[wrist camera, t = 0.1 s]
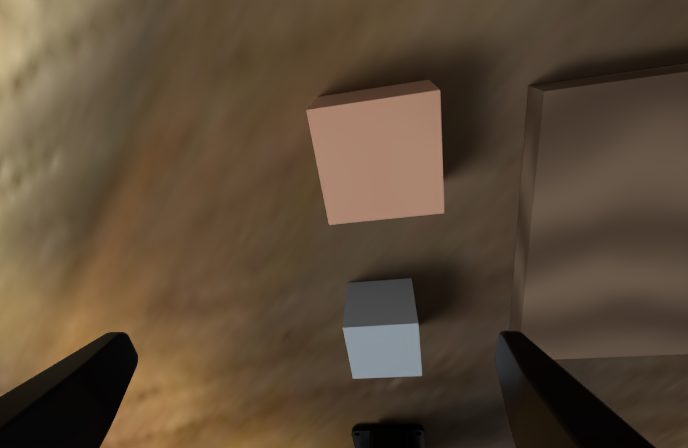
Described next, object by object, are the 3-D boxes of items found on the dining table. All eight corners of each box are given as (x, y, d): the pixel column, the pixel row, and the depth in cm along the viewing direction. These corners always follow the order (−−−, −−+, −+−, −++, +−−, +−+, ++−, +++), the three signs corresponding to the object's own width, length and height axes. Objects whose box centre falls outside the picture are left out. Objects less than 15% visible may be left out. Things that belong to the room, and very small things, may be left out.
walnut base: (787, 325, 24) (819, 348, 23) (508, 339, 27) (517, 361, 25) (951, 25, 16) (1021, 25, 15) (528, 85, 19) (544, 91, 17)
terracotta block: (433, 183, 22) (444, 213, 18) (336, 194, 23) (328, 224, 19) (428, 79, 19) (440, 89, 16) (318, 96, 20) (306, 109, 17)
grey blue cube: (415, 325, 27) (422, 375, 23) (356, 329, 28) (352, 378, 24) (411, 277, 25) (418, 323, 21) (347, 282, 26) (342, 327, 22)
